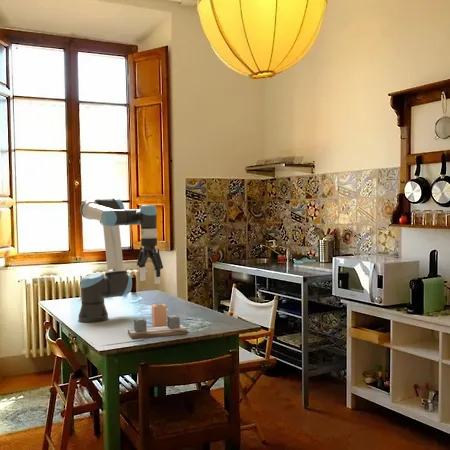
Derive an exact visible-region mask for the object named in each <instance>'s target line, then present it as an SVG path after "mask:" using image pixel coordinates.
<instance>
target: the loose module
mask: <svg viewBox="0 0 450 450" xmlns="http://www.w3.org/2000/svg"><path fill="white" fill-rule="evenodd" d="M167 316H168V315H167V305H166V304H165V303H155V304H151V324H152V326H153V327H163V326H167Z"/></svg>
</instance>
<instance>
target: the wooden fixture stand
mask: <svg viewBox="0 0 450 450" xmlns="http://www.w3.org/2000/svg"><path fill="white" fill-rule="evenodd" d="M180 321H181V320H180V316H178V314H174V315H173V314H172V315H167V326H163V327H154V326H153V327H147V320H146V319H145V317H138V318H137V317H136V318H134V319H133V329H127V334H128V336H129V337H130V339H132V340H136V339H137V340H138V339H146V338H155V337H166V336H175V335H177V336H178V335H184V334H188V330H187V329H186V327H185V326H184V325H182V324H181V323H180Z"/></svg>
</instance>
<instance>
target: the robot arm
mask: <svg viewBox="0 0 450 450" xmlns="http://www.w3.org/2000/svg"><path fill="white" fill-rule="evenodd" d="M79 212H80V215H81V216H82V217H83V218H85V219H87V220H92V221H93V220H96V221H99V224H100V225H101V226H102V228H103V237H104V238H103V239H104V246H105V247H104V248H105V258H106V267H107V269H106V271H105V272H104V273H94V274H89V275H86V276H84V277H82V278H81V280H80V289H81V291H80V297H81V306H80V310H79V314H78V321H79V322H81V323H97V322H103V321H104V322H105V321H106V320H108V319H109V314H108V313H109V312H108V311H107V307H106V305H105V299H109V298H116V297H117V298H118V297H124V296H125V297H126V296H127V295H129V294H130V293H131V291H132V288H133V287H132V286H133V279H132V275H131V274H130V273H128V270H127V269H125V268H124V261H123V260H124V259H123V251H122V241H121V231H120V226H137V225H138V226H140V237H141V238H140V247H139V254H138V257H137V263H136V266H138V268H139V281H140V282H143V281H145V282H146V280H147V272H146V269H147V268H146V267H147V266H146V263H147V261H148V259H150V260H151V262H152V265H153V268H154V270H153V271H154V272H153V273H154V274H153V275H154V278H153V279H154V282H153V283H154V285H159V284H161V270H162V269H163V268H164V265H163V261H162V259H161V258H162V257H161V254H160V248H158V247H157V248H156V246H158V238H157V237H158V223H157V221H158V220H157V215H158V213H157V206H156V205H154V204H143V205H141V206H140V208H135V209H134V208H133V209H125V205H124V203H123V201H122V200H121V199H120V198H118V197H93V198H92V197H91V198H88V199H86V200H84V201H83V202H82V203H81V204H80V206H79Z"/></svg>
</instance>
